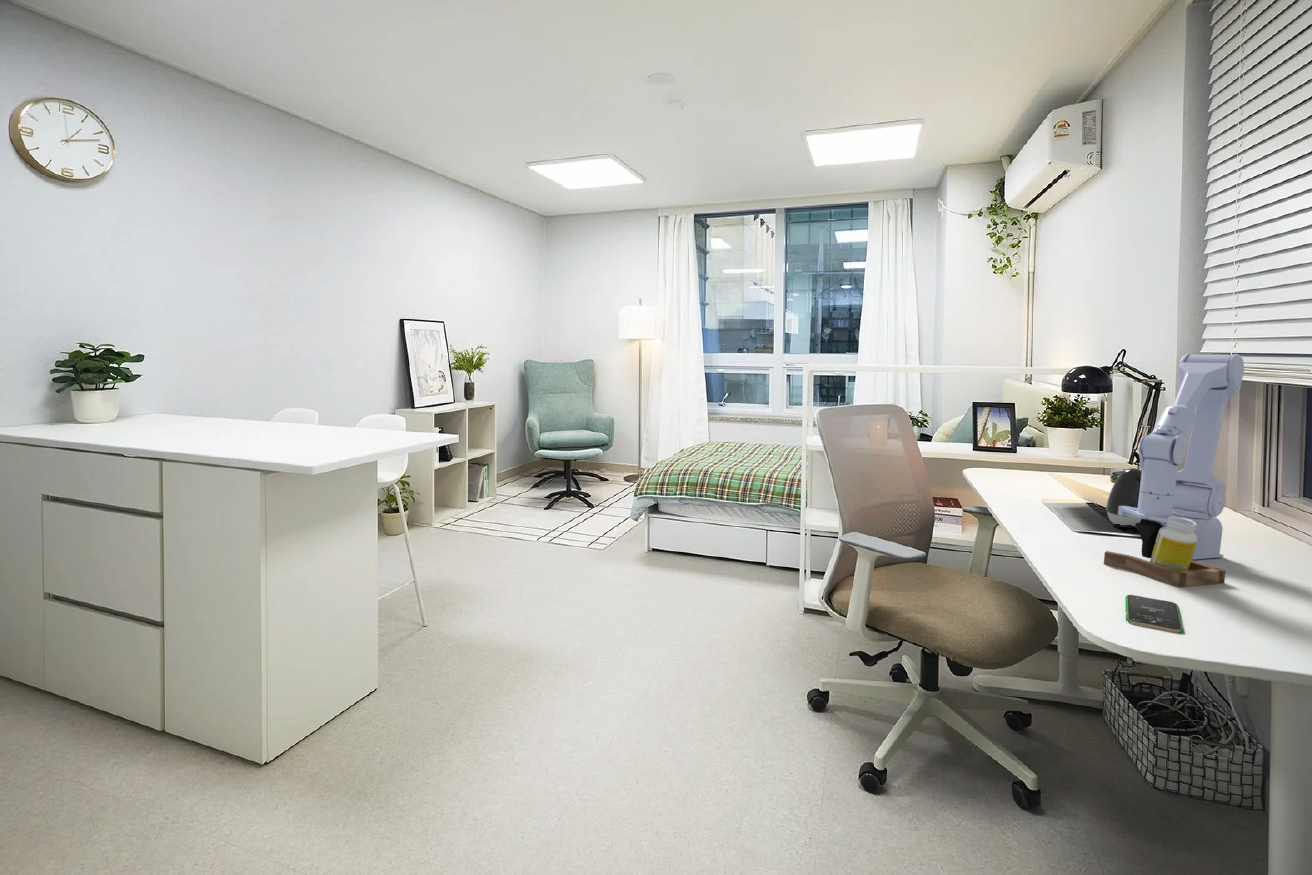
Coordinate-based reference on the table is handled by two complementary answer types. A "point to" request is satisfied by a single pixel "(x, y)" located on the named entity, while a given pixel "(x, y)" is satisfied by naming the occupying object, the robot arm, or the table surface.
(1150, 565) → the wooden u-shaped bracket
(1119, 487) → the dark grey egg-shaped device
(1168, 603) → the smartphone
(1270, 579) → the table surface
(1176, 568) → the pill bottle
